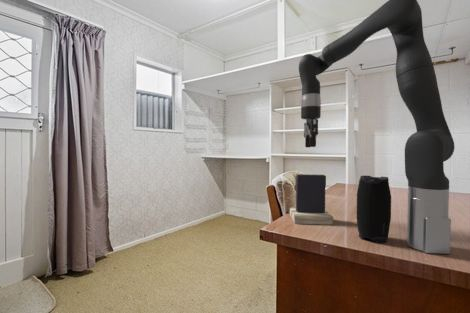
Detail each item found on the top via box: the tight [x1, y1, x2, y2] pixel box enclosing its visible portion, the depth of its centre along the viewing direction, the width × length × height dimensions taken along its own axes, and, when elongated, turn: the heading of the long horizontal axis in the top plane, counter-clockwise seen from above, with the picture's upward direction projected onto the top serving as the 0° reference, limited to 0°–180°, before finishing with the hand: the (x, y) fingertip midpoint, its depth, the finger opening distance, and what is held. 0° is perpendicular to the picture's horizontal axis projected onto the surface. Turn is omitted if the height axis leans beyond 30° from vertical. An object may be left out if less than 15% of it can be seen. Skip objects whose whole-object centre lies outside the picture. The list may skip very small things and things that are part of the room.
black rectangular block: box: [295, 173, 327, 213], centre depth 99 cm, size 11×4×15 cm, turn 85°
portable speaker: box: [356, 175, 392, 244], centre depth 77 cm, size 9×9×20 cm
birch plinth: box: [289, 206, 334, 226], centre depth 100 cm, size 14×14×3 cm
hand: (310, 147), depth 99 cm, fingers open, 8 cm apart
